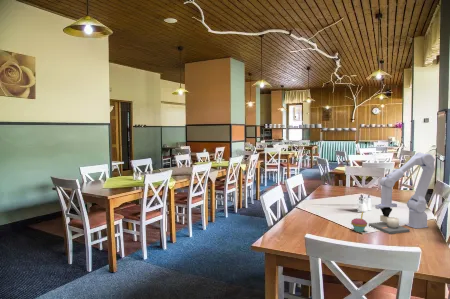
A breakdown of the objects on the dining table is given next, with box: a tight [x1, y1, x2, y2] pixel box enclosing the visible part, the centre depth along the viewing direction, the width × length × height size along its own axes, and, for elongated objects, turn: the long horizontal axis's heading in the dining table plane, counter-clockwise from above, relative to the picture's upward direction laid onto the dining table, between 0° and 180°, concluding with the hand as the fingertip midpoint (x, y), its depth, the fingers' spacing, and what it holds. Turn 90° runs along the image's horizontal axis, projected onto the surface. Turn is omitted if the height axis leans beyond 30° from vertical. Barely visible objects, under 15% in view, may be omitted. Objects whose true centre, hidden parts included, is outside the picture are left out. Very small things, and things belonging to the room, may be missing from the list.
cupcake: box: [350, 211, 368, 233], centre depth 180 cm, size 9×8×12 cm
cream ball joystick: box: [379, 214, 400, 227], centre depth 185 cm, size 12×6×4 cm, turn 18°
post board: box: [368, 221, 411, 235], centre depth 184 cm, size 14×16×2 cm
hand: (385, 219), depth 189 cm, fingers closed
